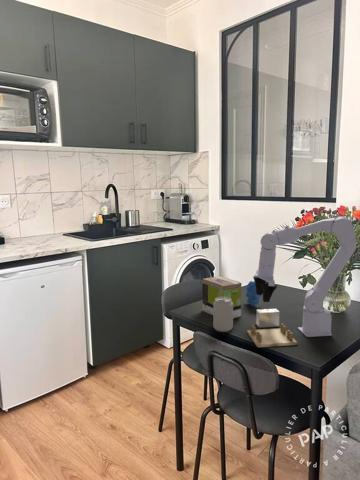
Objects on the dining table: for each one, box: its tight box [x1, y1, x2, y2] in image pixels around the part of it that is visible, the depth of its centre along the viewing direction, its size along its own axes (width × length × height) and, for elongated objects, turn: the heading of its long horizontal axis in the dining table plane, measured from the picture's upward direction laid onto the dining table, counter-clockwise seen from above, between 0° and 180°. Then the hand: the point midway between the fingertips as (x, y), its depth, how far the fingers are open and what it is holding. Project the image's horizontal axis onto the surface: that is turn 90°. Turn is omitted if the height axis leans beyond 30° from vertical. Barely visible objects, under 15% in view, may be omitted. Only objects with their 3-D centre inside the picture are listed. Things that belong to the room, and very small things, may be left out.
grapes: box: [244, 280, 262, 307], centre depth 160 cm, size 12×7×12 cm, turn 16°
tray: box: [246, 323, 298, 348], centre depth 127 cm, size 14×12×4 cm
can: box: [212, 297, 234, 333], centre depth 135 cm, size 8×8×12 cm
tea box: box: [202, 275, 242, 319], centre depth 151 cm, size 15×10×15 cm, turn 32°
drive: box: [255, 308, 280, 329], centre depth 139 cm, size 8×4×6 cm, turn 96°
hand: (262, 298), depth 137 cm, fingers open, 7 cm apart
